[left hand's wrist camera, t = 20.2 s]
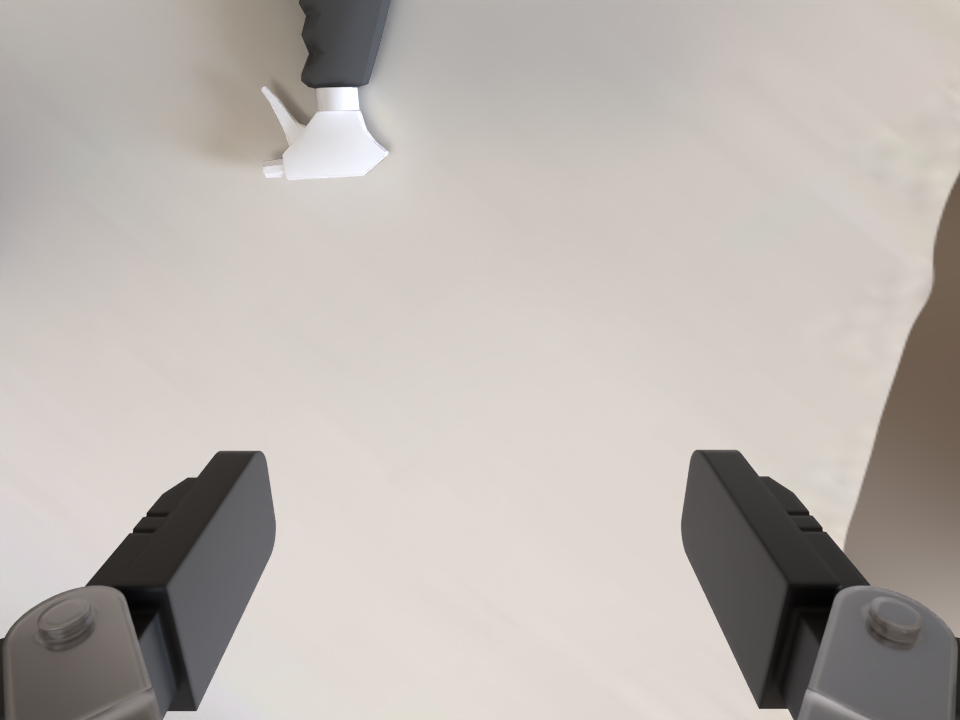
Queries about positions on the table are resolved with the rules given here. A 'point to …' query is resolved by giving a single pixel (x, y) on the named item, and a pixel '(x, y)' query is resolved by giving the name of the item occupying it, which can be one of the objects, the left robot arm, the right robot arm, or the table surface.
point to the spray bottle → (333, 92)
